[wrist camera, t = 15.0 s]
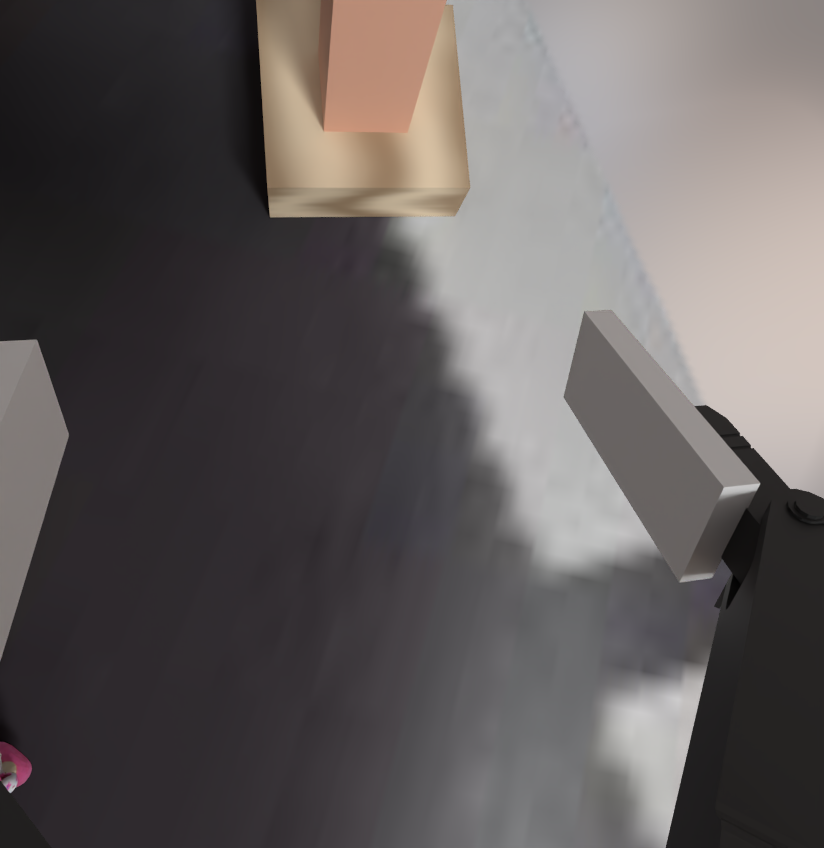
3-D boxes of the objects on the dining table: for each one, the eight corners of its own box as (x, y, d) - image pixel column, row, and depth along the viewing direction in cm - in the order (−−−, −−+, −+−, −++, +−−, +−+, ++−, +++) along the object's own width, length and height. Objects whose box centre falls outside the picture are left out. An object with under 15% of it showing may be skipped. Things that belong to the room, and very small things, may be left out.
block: (323, 131, 40) (333, -10, 29) (318, 52, 40) (326, -115, 30) (407, 132, 41) (447, -4, 30) (400, 55, 41) (438, -106, 30)
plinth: (269, 217, 43) (267, 187, 39) (259, 41, 44) (255, -5, 40) (454, 216, 45) (470, 187, 41) (439, 47, 46) (452, 5, 42)
